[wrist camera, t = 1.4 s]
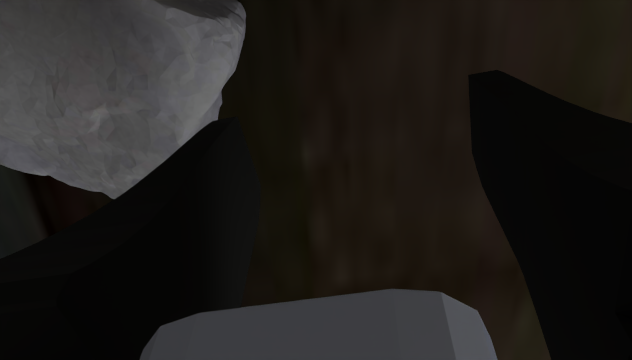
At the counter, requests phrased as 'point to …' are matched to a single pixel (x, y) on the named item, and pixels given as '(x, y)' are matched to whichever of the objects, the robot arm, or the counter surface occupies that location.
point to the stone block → (110, 84)
